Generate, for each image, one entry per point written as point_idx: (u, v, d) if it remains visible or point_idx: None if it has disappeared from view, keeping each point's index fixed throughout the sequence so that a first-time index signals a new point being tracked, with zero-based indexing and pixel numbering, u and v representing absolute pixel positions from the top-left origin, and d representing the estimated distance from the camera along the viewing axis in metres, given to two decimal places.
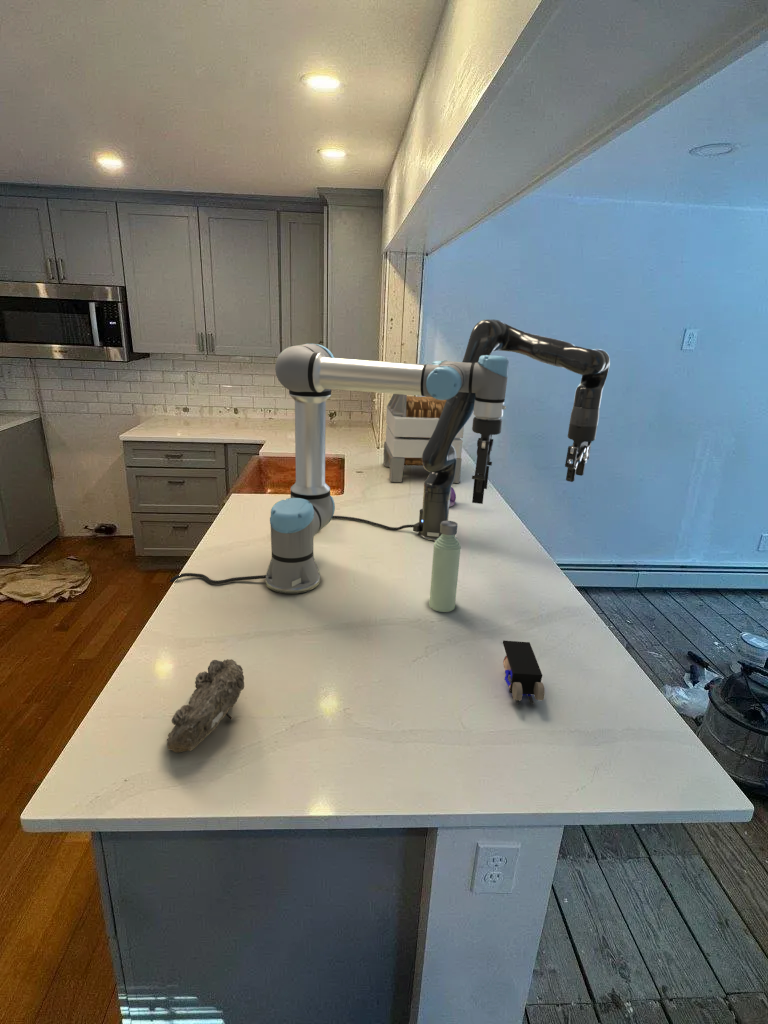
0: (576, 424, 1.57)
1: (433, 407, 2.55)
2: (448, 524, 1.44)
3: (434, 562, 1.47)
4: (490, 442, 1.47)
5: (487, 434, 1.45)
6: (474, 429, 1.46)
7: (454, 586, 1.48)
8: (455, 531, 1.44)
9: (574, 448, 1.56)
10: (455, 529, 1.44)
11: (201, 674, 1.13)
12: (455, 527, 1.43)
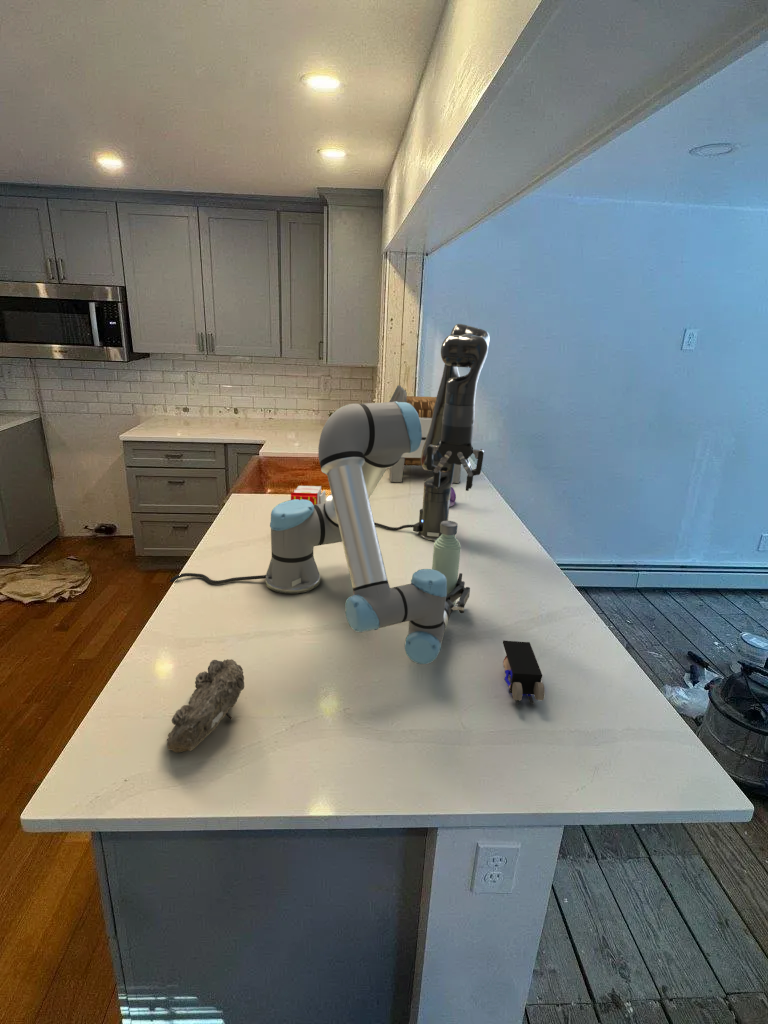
0: None
1: (433, 407, 2.55)
2: (448, 524, 1.44)
3: (434, 562, 1.47)
4: None
5: None
6: None
7: (454, 586, 1.48)
8: (455, 531, 1.44)
9: (428, 447, 1.39)
10: (455, 529, 1.44)
11: (201, 674, 1.13)
12: (455, 527, 1.43)
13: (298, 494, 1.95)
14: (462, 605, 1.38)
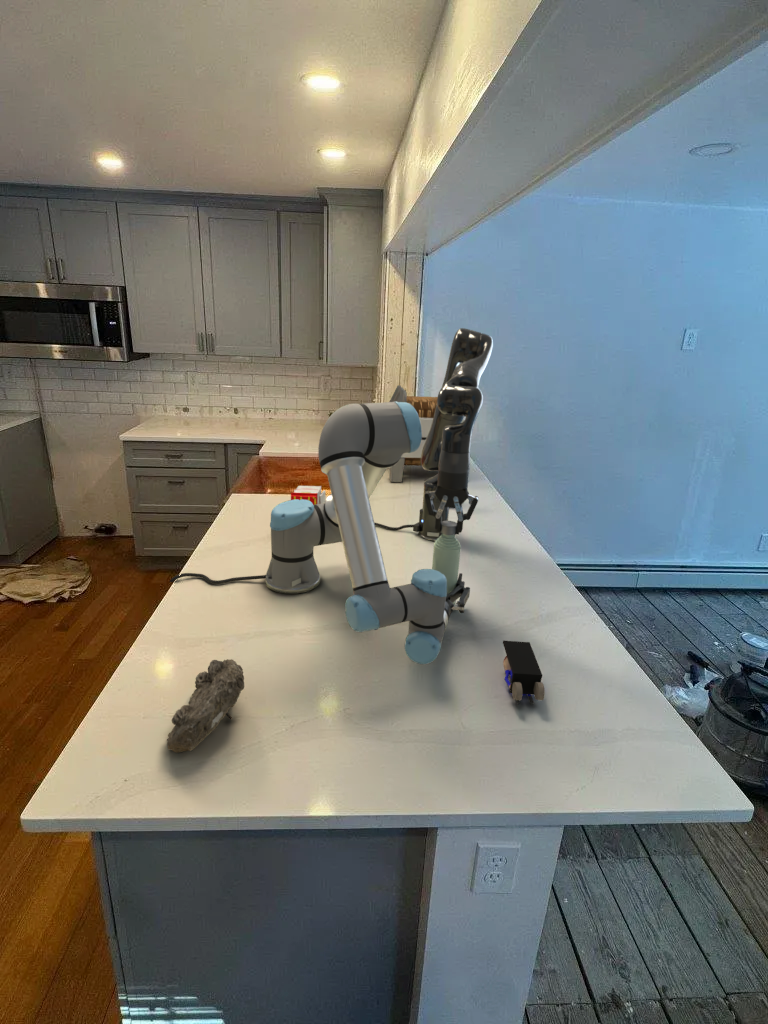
0: None
1: (433, 407, 2.55)
2: (448, 524, 1.44)
3: (434, 562, 1.47)
4: None
5: None
6: None
7: (454, 586, 1.48)
8: (455, 531, 1.44)
9: (425, 494, 1.43)
10: (455, 529, 1.44)
11: (201, 674, 1.13)
12: (455, 527, 1.43)
13: (298, 494, 1.95)
14: (462, 605, 1.38)
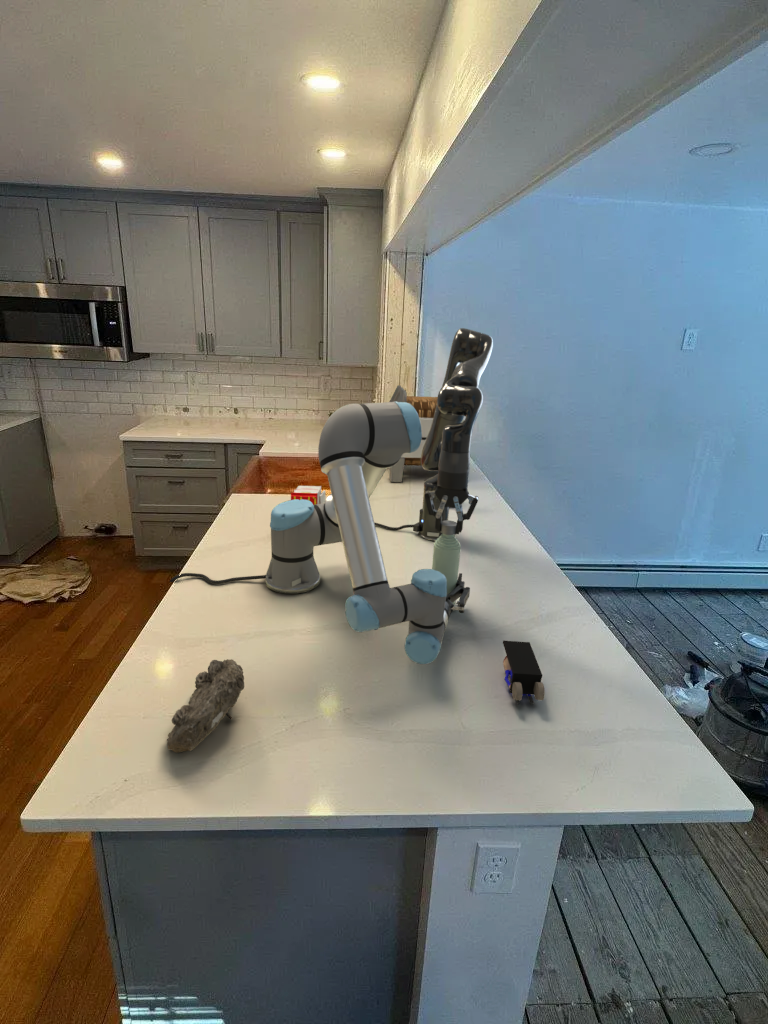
0: None
1: (433, 407, 2.55)
2: (452, 524, 1.44)
3: (434, 562, 1.47)
4: None
5: None
6: None
7: (454, 586, 1.48)
8: None
9: (425, 494, 1.43)
10: None
11: (201, 674, 1.13)
12: None
13: (298, 494, 1.95)
14: (462, 605, 1.38)
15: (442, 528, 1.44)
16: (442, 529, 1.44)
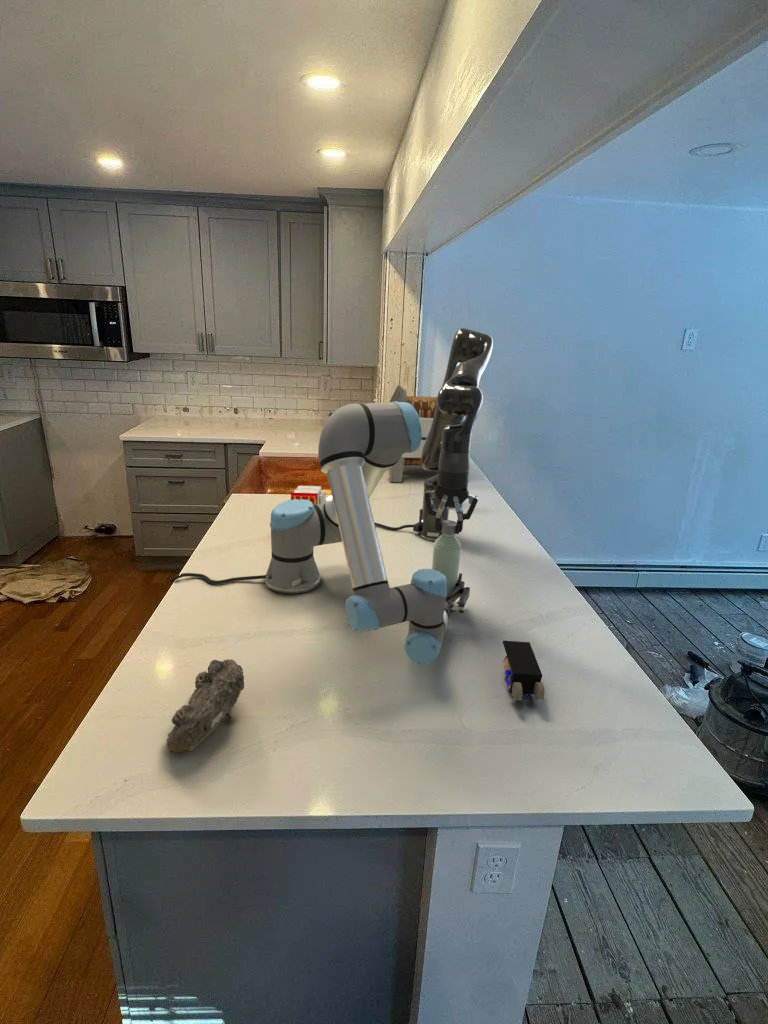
0: None
1: (433, 407, 2.55)
2: (452, 522, 1.45)
3: (434, 562, 1.47)
4: None
5: None
6: None
7: (454, 586, 1.48)
8: None
9: (425, 493, 1.43)
10: None
11: (201, 674, 1.13)
12: None
13: (298, 494, 1.95)
14: (462, 605, 1.38)
15: (451, 529, 1.43)
16: (451, 530, 1.43)
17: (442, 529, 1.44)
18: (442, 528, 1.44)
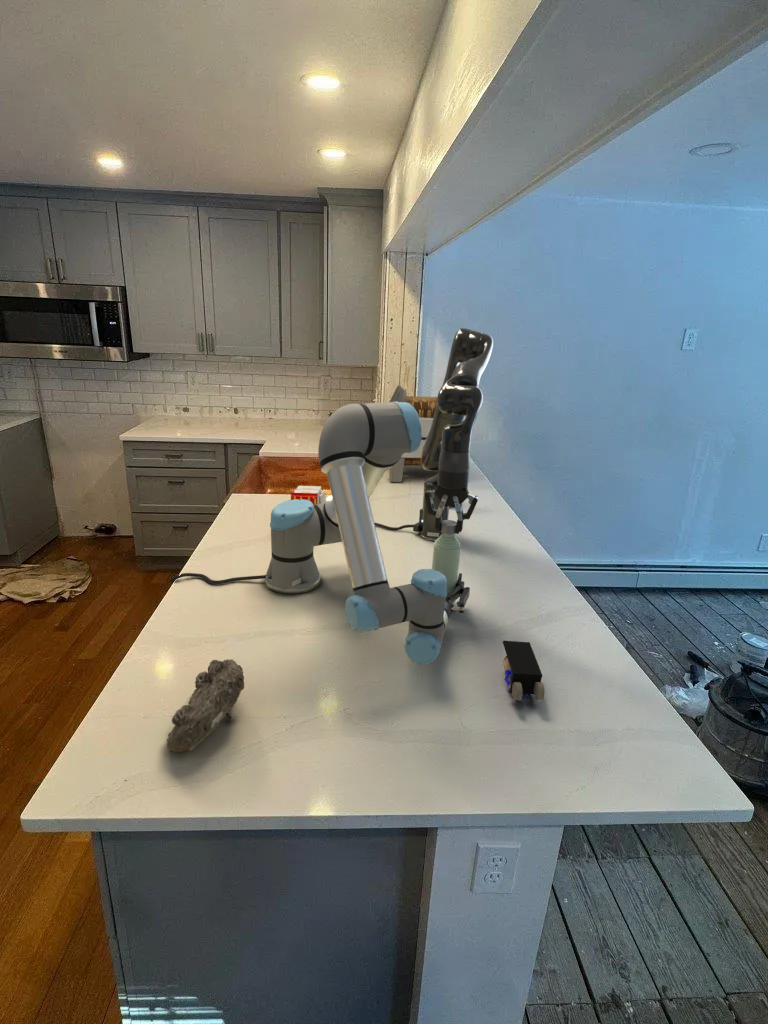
0: None
1: (433, 407, 2.55)
2: (448, 521, 1.46)
3: (434, 562, 1.47)
4: None
5: None
6: None
7: (454, 586, 1.48)
8: None
9: (425, 493, 1.43)
10: None
11: (201, 674, 1.13)
12: (441, 523, 1.45)
13: (298, 494, 1.95)
14: (462, 605, 1.38)
15: None
16: None
17: (451, 530, 1.43)
18: (451, 529, 1.43)
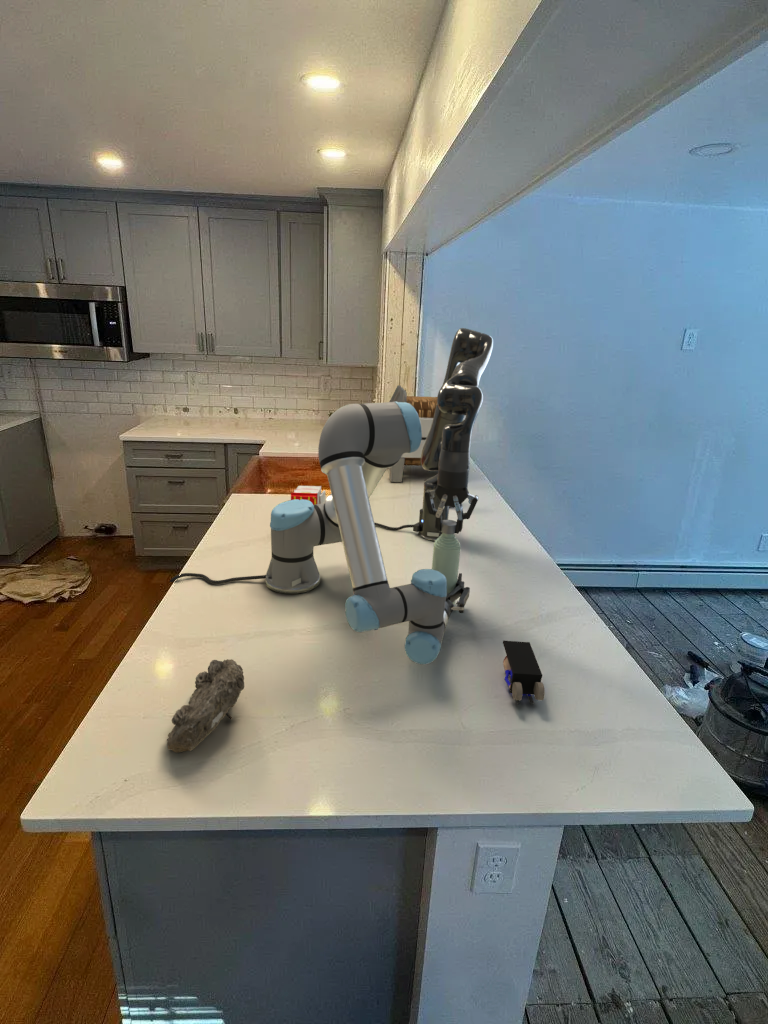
0: None
1: (433, 407, 2.55)
2: (445, 522, 1.45)
3: (434, 562, 1.47)
4: None
5: None
6: None
7: (454, 586, 1.48)
8: (444, 530, 1.43)
9: (425, 493, 1.43)
10: (444, 528, 1.43)
11: (201, 674, 1.13)
12: (444, 526, 1.43)
13: (298, 494, 1.95)
14: (462, 605, 1.38)
15: None
16: None
17: None
18: None
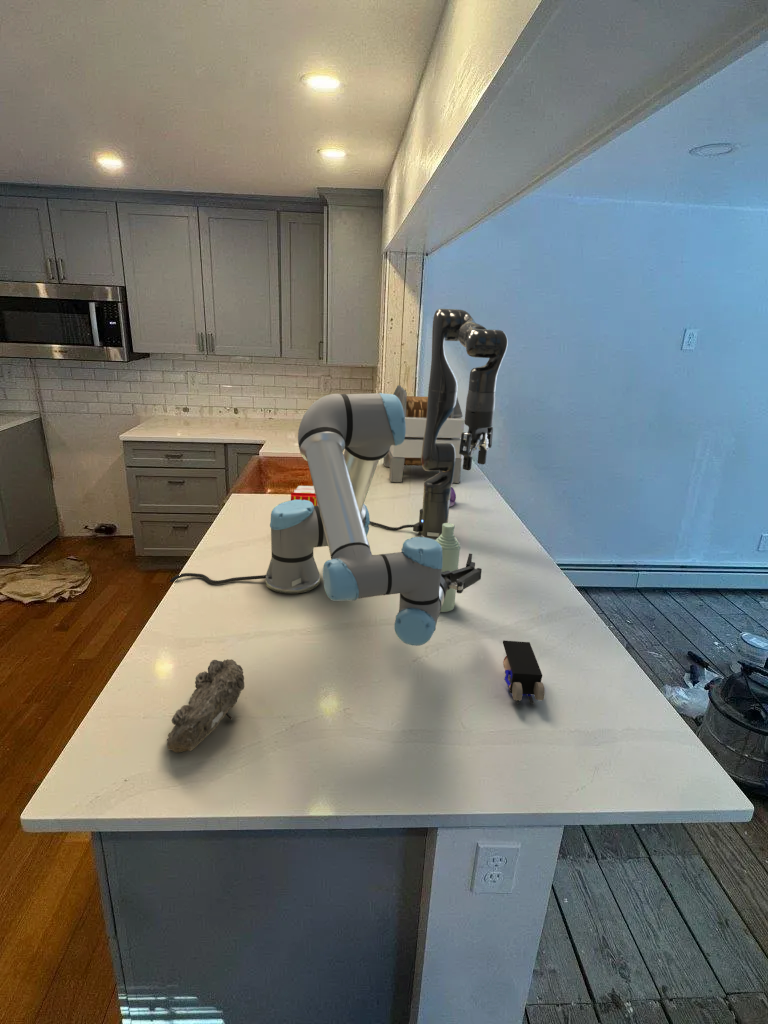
0: (470, 409, 1.49)
1: None
2: None
3: None
4: None
5: None
6: None
7: None
8: None
9: (467, 434, 1.48)
10: None
11: (201, 674, 1.13)
12: None
13: (298, 494, 1.95)
14: (459, 584, 1.22)
15: None
16: None
17: None
18: None
